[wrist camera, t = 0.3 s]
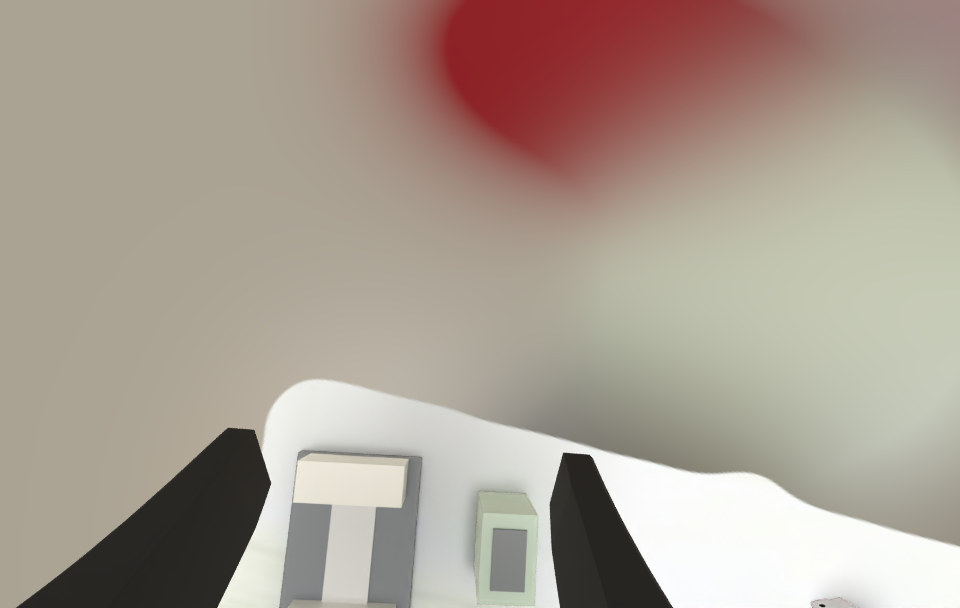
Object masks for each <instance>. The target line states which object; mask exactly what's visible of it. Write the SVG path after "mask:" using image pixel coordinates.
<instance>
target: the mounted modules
mask: <svg viewBox="0 0 960 608" xmlns="http://www.w3.org/2000/svg"><path fill="white" fill-rule="evenodd" d="M408 462H409V459H403V458H385V457H381V458H374V457H373V458H372V457H362V456H361V457H360V456H359V457H358V456H356V457H354V456H349V455H347V456H346V455H345V456H337V455H332V454H314V453H310V454H308V455H307V456H305V457H303V458H301V459H300V460H298V463H297V472H296V480H295V488H294V497H293V503H312V504H331V505H351V506H370V507H390V508H401V507H402V505H403V502H404V500H405V497H406V485H407V473H408ZM288 608H396V604H393V603H369V602H368V603H367V604H345V603H322V601H321V600H297V599H293V601H292V602H291V604H290V605H289V606H288Z"/></svg>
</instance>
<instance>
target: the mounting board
mask: <svg viewBox="0 0 960 608" xmlns="http://www.w3.org/2000/svg"><path fill="white" fill-rule="evenodd" d="M310 453H314V454H332V455H337V456H345V455H346V456H347V455H349V456H354V457H356V456H358V457H359V456H360V457H361V456H362V457H372V458H373V457H374V458H381V457H385V458H403V459H409V462H408V473H407V485H406V497H405V500H404V502H403V505H402V507H401V508H390V507H370V506H351V505H331V504H312V503H293V499H292V507H291V515H290V524H289V532H288V540H287V548H286V557H285V565H284V573H283V582H282V590H281V598H280V607H279V608H288V606H289V605H290V604H291V602H292V601H293V599H297V600H321V601H322V603H345V604H367V603H368V602H369V603H393V604H396V608H410V597H411V584H412V572H413V560H414V547H415V535H416V523H417V510H418V498H419V485H420V473H421V461H422V457H409V456H391V455H374V454H356V453H338V452H320V451H303V450H302V451H300V452H298V457H297V463H298V460H300V459H301V458H303V457H305V456H307V455H308V454H310ZM296 472H297V465H296ZM295 480H296V474H295ZM294 488H295V482H294ZM293 497H294V490H293Z"/></svg>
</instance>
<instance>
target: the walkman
mask: <svg viewBox="0 0 960 608" xmlns="http://www.w3.org/2000/svg"><path fill="white" fill-rule="evenodd" d="M811 606H812V608H857V607H855V606H854V605H852V604H850V603H848V602H847V601H845V600H843V599H842V598H840V597H839V598H835V599H832V600H826V599H822V600H818V601H814V602H811Z"/></svg>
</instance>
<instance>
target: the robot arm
mask: <svg viewBox="0 0 960 608" xmlns="http://www.w3.org/2000/svg"><path fill="white" fill-rule="evenodd" d="M270 485H271V481H270V478H269V475H268V472H267V469H266V465H265V462H264V459H263V456H262V453H261V450H260V447H259V443H258V440H257V437H256V434H255V431H254V430H250V429H237V428H227V429H226V430H225V431H224V432H223V433H222V434H220V435H219V436H218V437H217V438H216V439H215V440H214V441H213V442H212V443H211V444H210V445H209V446H207V447H206V448H205V449H204V450H203V451H202V452H201V453H200V454H199V455H198V456H197V457H196V458H195V459H193V460H192V462H190V463H189V464H188V465H187V466H186V467H185V468H184V469H183V470H181V471H180V472H179V473H178V474H177V475H176V476H175V477H174V478H173V479H172V480H171V481H170V482H168V483H167V484H166V485H165V486H164V487H163V488H162V489H161V490H160V491H159V492H157V493H156V494H155V495H154V496H153V497H152V498H151V499H150V500H148V501H147V502H146V503H145V504H144V505H143V506H142V507H140V508H139V509H138V510H137V511H136V512H135V513H134V514H133V515H131V516H130V517H129V518H128V519H127V520H126V521H125V522H123V523H122V524H121V525H120V526H118V527H117V528H116V529H115V530H114V531H112V532H111V533H110V534H109V535H108V536H107V537H105V538H104V539H103V540H102V541H101V542H99V543H98V544H97V545H96V546H95V547H93V548H92V549H91V550H90V551H89V552H87V553H86V554H85V555H84V556H83V557H81V558H80V559H79V560H78V561H76V562H75V563H74V564H72V565H71V566H70V567H69V568H67V569H66V570H65V571H64V572H62V573H61V574H60V575H59V576H57V577H56V578H55V579H54V580H52V581H51V582H50V583H48V584H47V585H46V586H44V587H43V588H42V589H40V590H39V591H38V592H36V593H35V594H34V595H32V596H31V597H30V598H28V599H27V600H26V601H24V602H23V603H22V604H20V605H19V606H18V607H16V608H217V607H218V605H219V603H220V601H221V599H222V597H223V595H224V593H225V591H226V589H227V587H228V585H229V582H230V580H231V578H232V576H233V574H234V572H235V570H236V568H237V566H238V564H239V562H240V560H241V558H242V556H243V554H244V551H245V549H246V547H247V545H248V543H249V541H250V539H251V537H252V535H253V532H254V530H255V528H256V525H257V523H258V520H259V517H260V515H261V512H262V509H263V506H264V503H265V500H266V497H267V494H268V491H269V488H270ZM550 524H551V544H552V555H553V562H554V569H555V576H556V583H557V590H558V596H559V603H560V608H673V607H672V605H671V604H670V602H669V601H668V599H667V597H666V596H665V594H664V592H663V591H662V589H661V588H660V586H659V584H658V583H657V581H656V579H655V578H654V576H653V574H652V573H651V571H650V569H649V567H648V566H647V564H646V562H645V561H644V559H643V557H642V555H641V553H640V552H639V550H638V548H637V546H636V544H635V543H634V541H633V539H632V537H631V535H630V534H629V532H628V530H627V528H626V526H625V524H624V522H623V521H622V519H621V517H620V515H619V513H618V511H617V509H616V507H615V505H614V503H613V501H612V499H611V497H610V495H609V493H608V491H607V489H606V487H605V484H604V482H603V480H602V478H601V476H600V474H599V471H598V469H597V467H596V464H595V462H594V460H593V458H592V457H591V456H590V455H586V454H573V453H563V456H562V459H561V463H560V467H559V471H558V474H557V478H556V482H555V486H554V489H553V493H552V497H551V501H550Z"/></svg>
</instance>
